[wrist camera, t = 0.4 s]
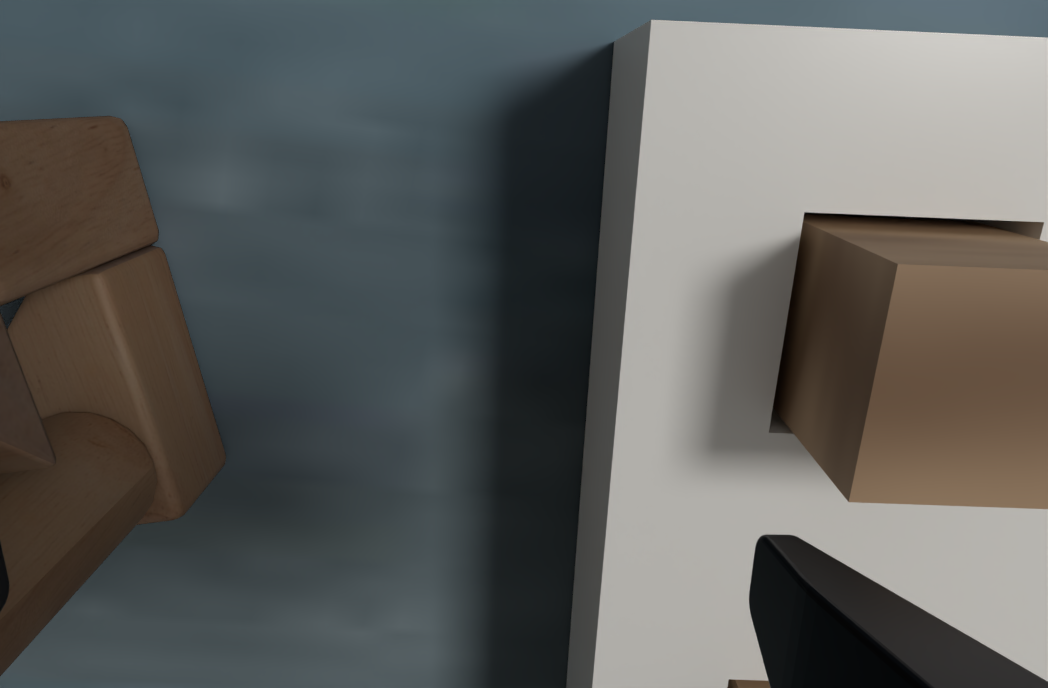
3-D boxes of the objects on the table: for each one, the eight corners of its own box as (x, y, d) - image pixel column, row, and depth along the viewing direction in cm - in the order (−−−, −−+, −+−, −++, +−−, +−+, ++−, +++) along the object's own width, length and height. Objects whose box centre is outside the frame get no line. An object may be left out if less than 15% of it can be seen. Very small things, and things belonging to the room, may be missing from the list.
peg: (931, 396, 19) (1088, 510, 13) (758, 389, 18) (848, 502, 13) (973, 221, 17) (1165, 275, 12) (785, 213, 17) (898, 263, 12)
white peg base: (882, 748, 28) (976, 918, 22) (562, 738, 27) (572, 907, 22) (1057, 61, 20) (1272, 48, 14) (614, 41, 20) (651, 19, 14)
